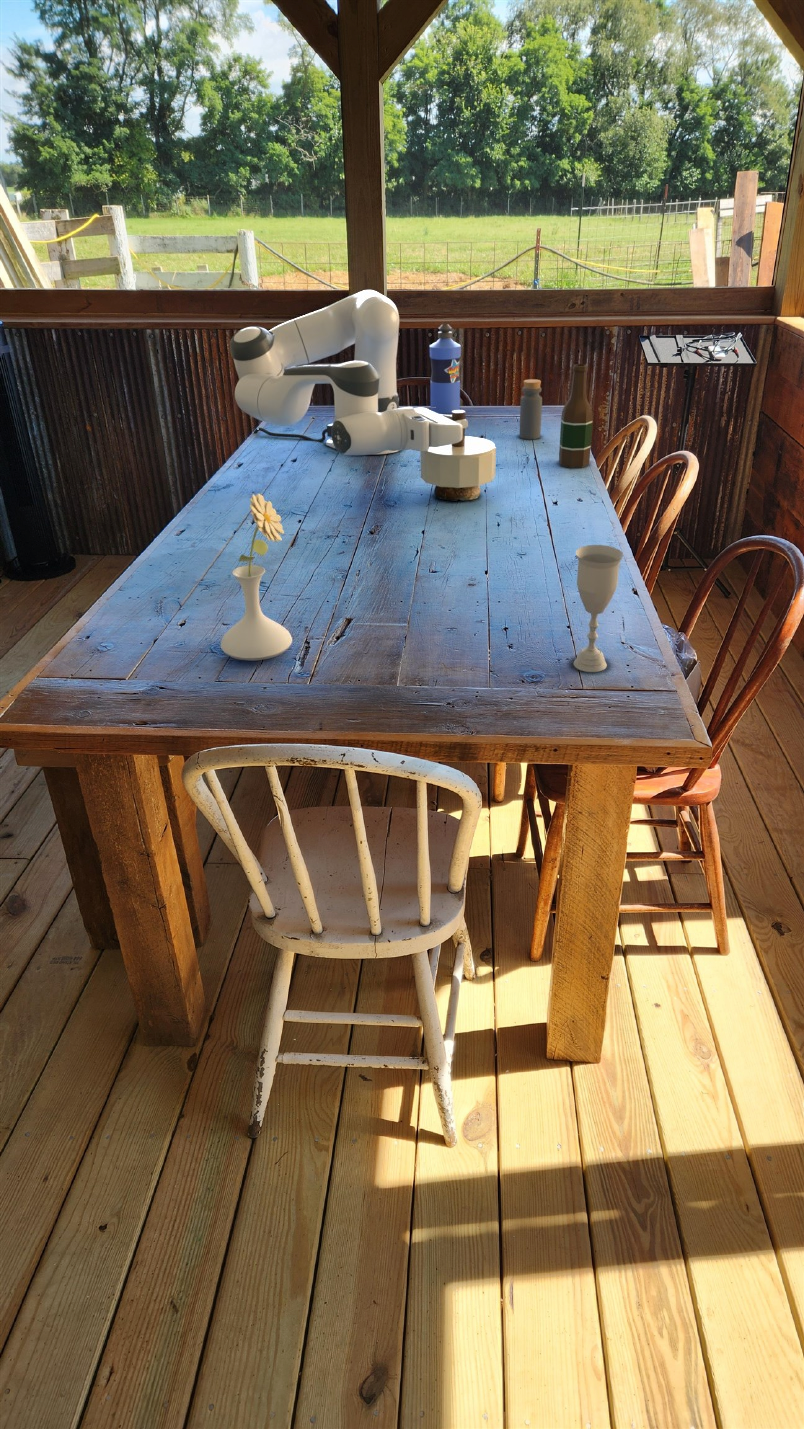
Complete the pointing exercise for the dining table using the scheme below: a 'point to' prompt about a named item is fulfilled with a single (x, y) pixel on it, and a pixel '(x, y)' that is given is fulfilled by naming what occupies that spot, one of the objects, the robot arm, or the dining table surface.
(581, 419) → the beer bottle
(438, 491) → the bread roll
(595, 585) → the chalice
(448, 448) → the lid
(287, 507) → the dining table surface
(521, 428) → the bottle
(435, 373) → the water bottle
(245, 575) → the flower in vase
